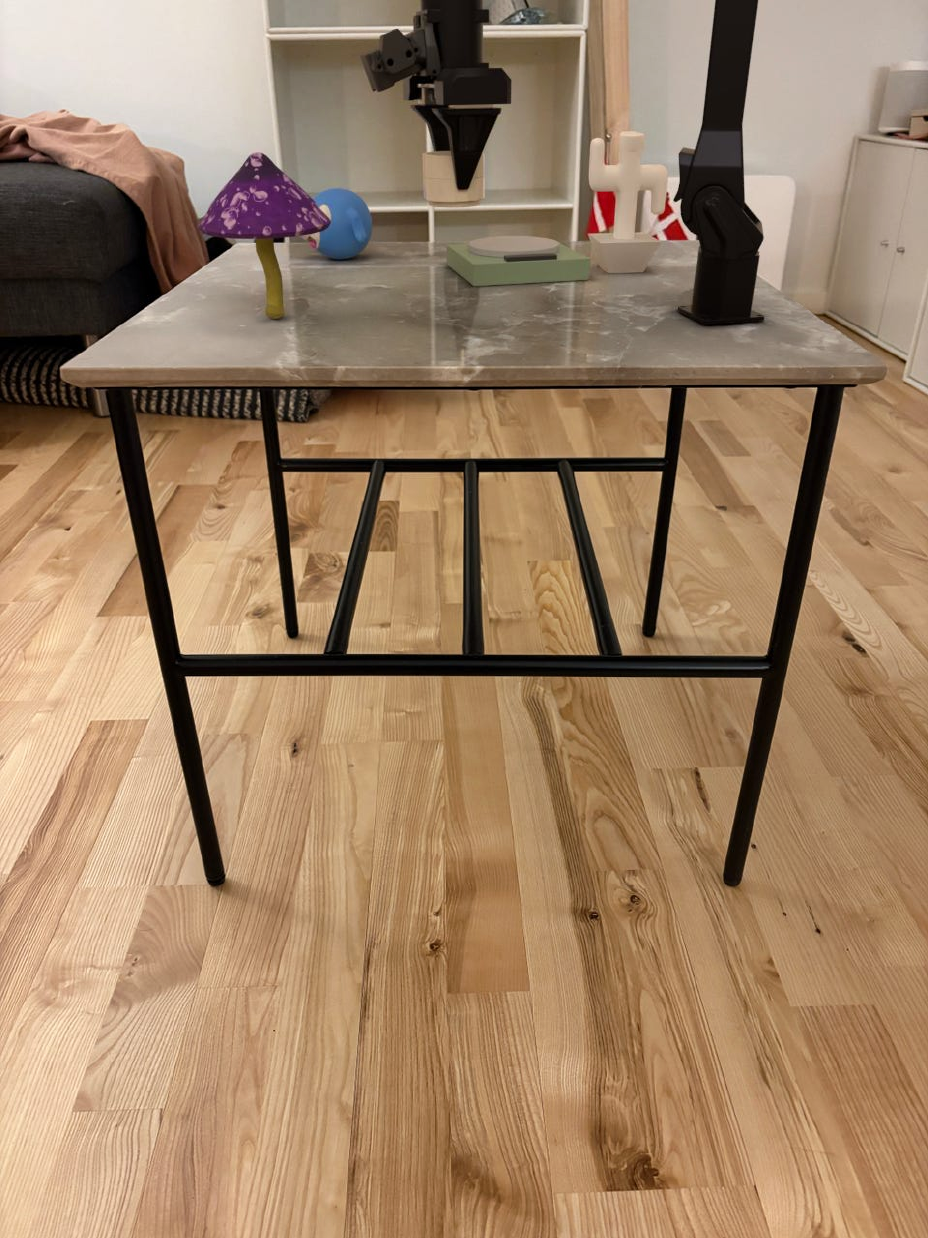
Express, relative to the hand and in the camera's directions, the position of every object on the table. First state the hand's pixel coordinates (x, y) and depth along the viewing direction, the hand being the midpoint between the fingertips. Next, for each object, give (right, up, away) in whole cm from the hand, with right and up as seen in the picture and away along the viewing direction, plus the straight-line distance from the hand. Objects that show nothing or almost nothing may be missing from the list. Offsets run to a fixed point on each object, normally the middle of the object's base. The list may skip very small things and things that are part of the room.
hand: (454, 185), depth 92 cm
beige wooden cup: (0, -1, +1) cm, 2 cm away
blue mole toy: (-17, +3, +28) cm, 33 cm away
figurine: (+20, 0, +22) cm, 30 cm away
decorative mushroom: (-18, -13, +1) cm, 22 cm away
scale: (+7, -1, +21) cm, 22 cm away
